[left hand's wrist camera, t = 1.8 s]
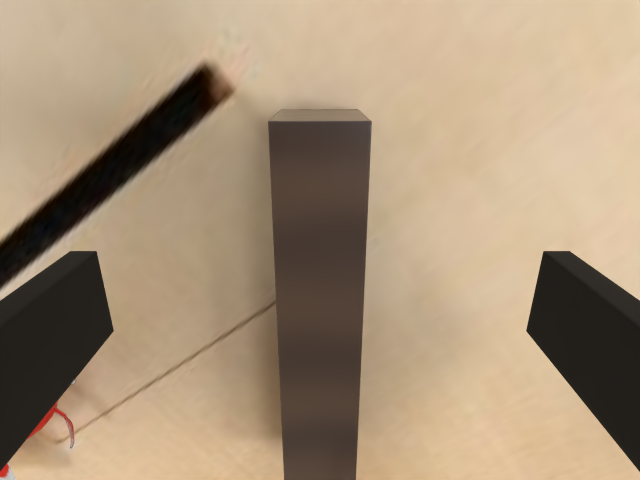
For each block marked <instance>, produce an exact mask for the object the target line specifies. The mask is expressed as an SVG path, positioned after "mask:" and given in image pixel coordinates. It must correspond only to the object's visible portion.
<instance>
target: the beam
mask: <svg viewBox="0 0 640 480" xmlns="http://www.w3.org/2000/svg"><path fill="white" fill-rule="evenodd" d="M371 125H372V122H371V120H370V119H368V118H367V117H366V116H365V115H364V114H363V113H362V112H361V111H360V110H280V111H279V112H278V113H277V114H276V115H275V116H274V117H273V118H272V119H270V120H269V122H268V126H269V148H270V171H271V193H272V216H273V238H274V261H275V283H276V306H277V328H278V351H279V373H280V396H281V418H282V441H283V463H284V480H356V463H357V441H358V418H359V396H360V373H361V350H362V328H363V305H364V283H365V260H366V238H367V215H368V193H369V170H370V148H371Z"/></svg>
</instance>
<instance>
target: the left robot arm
mask: <svg viewBox="0 0 640 480" xmlns="http://www.w3.org/2000/svg"><path fill="white" fill-rule="evenodd" d="M113 331H114V330H113V325H112V321H111V316H110V312H109V307H108V302H107V298H106V293H105V288H104V284H103V279H102V275H101V270H100V265H99V261H98V256H97V251H70V252H69V253H67V254H66V255H64V256H63V257H62V258H60V259H59V260H57V261H56V262H54V263H53V264H52V265H50V266H49V267H47V268H46V269H45V270H43V271H42V272H40V273H39V274H37V275H36V276H35V277H33V278H32V279H30V280H29V281H28V282H26V283H25V284H23V285H22V286H20V287H19V288H18V289H16V290H15V291H13V292H12V293H11V294H9V295H8V296H6V297H5V298H3V299H2V300H1V301H0V471H1V470H2V469H3V468H4V466H5V465H6V464H7V463H8V461H9V460H10V459H11V458H12V456H13V455H14V454H15V453H16V452H17V450H18V449H19V448H20V447H21V445H22V444H23V443H24V442H25V440H26V439H27V438H28V437H29V435H30V434H31V433H32V432H33V430H34V429H35V428H36V427H37V425H38V424H39V423H40V422H41V421H42V419H43V418H44V417H45V416H46V414H47V413H48V412H49V411H50V409H51V408H52V407H53V406H54V404H55V403H56V402H57V401H58V399H59V398H60V397H61V396H62V394H63V393H64V392H65V391H66V389H67V388H68V387H69V386H70V385H71V383H72V382H73V381H74V380H75V378H76V377H77V376H78V375H79V373H80V372H81V371H82V370H83V368H84V367H85V366H86V365H87V363H88V362H89V361H90V360H91V358H92V357H93V356H94V355H95V354H96V352H97V351H98V350H99V349H100V347H101V346H102V345H103V344H104V342H105V341H106V340H107V339H108V337H109V336H110V335H111V334H112V332H113ZM526 331H527V332H528V334H529V335H530V336H531V337H532V339H533V340H534V341H535V342H536V344H537V345H538V346H539V347H540V349H541V350H542V351H543V352H544V354H545V355H546V356H547V357H548V358H549V360H550V361H551V362H552V363H553V365H554V366H555V367H556V368H557V370H558V371H559V372H560V373H561V375H562V376H563V377H564V378H565V380H566V381H567V382H568V383H569V385H570V386H571V387H572V388H573V389H574V391H575V392H576V393H577V394H578V396H579V397H580V398H581V399H582V401H583V402H584V403H585V404H586V406H587V407H588V408H589V409H590V411H591V412H592V413H593V414H594V416H595V417H596V418H597V419H598V421H599V422H600V423H601V424H602V425H603V427H604V428H605V429H606V430H607V432H608V433H609V434H610V435H611V437H612V438H613V439H614V440H615V442H616V443H617V444H618V445H619V447H620V448H621V449H622V450H623V452H624V453H625V454H626V455H627V456H628V458H629V459H630V460H631V461H632V463H633V464H634V465H635V466H636V468H637V469H638V470H639V471H640V301H639V300H638V299H637V298H635V297H634V296H632V295H631V294H629V293H628V292H627V291H625V290H624V289H622V288H621V287H620V286H618V285H617V284H615V283H614V282H612V281H611V280H610V279H608V278H607V277H605V276H604V275H603V274H601V273H600V272H598V271H597V270H595V269H594V268H593V267H591V266H590V265H588V264H587V263H586V262H584V261H583V260H581V259H580V258H578V257H577V256H576V255H574V254H573V253H571V252H570V251H543V256H542V261H541V265H540V270H539V275H538V279H537V284H536V288H535V293H534V298H533V302H532V307H531V312H530V316H529V321H528V325H527V330H526Z"/></svg>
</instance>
